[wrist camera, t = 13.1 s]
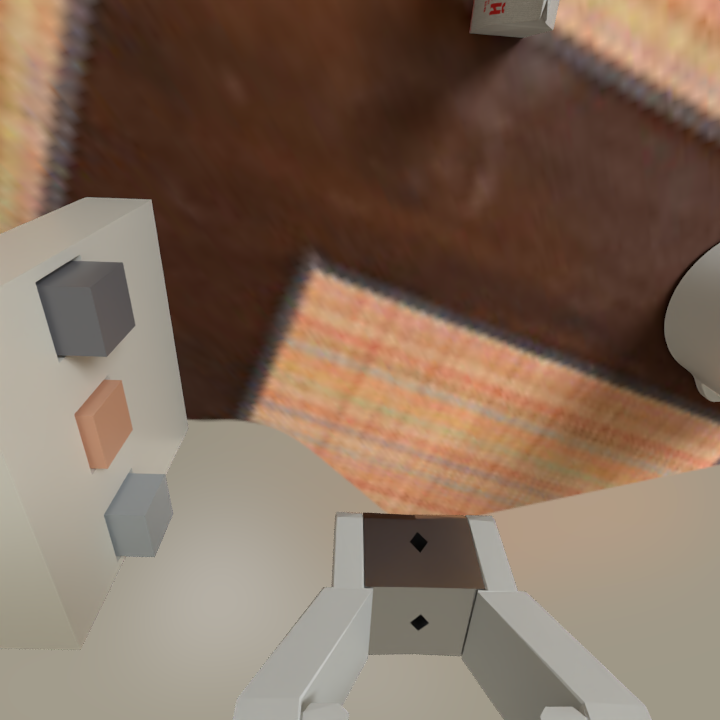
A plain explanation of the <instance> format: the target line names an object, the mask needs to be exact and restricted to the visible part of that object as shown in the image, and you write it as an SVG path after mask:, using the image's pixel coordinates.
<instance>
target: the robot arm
mask: <svg viewBox="0 0 720 720" xmlns="http://www.w3.org/2000/svg"><path fill="white" fill-rule="evenodd" d="M664 333H665V340H666V343H667V346H668V349H669V351H670V353H671V354H672V356H673V357H674V359H675V360H676V361H677V362H678V363H679V364H680V365H681V366H683V367H684V368H685V369H686V370H688V371H689V372H690V373H691V374H692V375H693V377H694V380H695V383H696V386H697V389H698V391H699V393H700V394H701V395H702V396H703V397H705V398H706V399H708V400H709V401H712V402H720V243H719V244H718V245H716V246H715V247H713V248H712V249H711V250H709V251H708V252H707V253H706V254H704V255H703V256H702V257H701V258H700V259H699V260H698V261H697V262H696V263H695V264H694V265H693V266H692V267H691V268H690V269H689V271H688V272H687V273H686V274H685V276H684V277H683V278H682V280H681V281H680V283H679V284H678V286H677V288H676V289H675V291H674V293H673V295H672V297H671V300H670V302H669V305H668V308H667V312H666V316H665V324H664ZM334 530H335V531H334V549H333V570H332V587H324V588H323V589H322V590H321V591H320V592H319V594H318V595H317V596H316V598H315V599H314V600H313V602H312V603H311V604H310V605H309V607H308V608H307V609H306V611H305V612H304V613H303V614H302V616H301V617H300V618H299V620H298V621H297V622H296V623H295V625H294V626H293V627H292V629H291V630H290V631H289V632H288V634H287V635H286V636H285V638H284V639H283V640H282V641H281V643H280V644H279V646H278V647H277V648H276V649H275V651H274V652H273V653H272V654H271V656H270V657H269V658H268V660H267V661H266V662H265V663H264V665H263V666H262V668H260V670H259V671H258V672H257V674H256V675H255V676H254V677H253V679H252V680H251V681H250V683H249V684H248V686H247V687H246V688H245V689H244V691H243V692H242V693H241V694H240V696H239V697H238V698H237V702H236V706H235V711H234V716H233V720H349V713H348V712H347V711H346V710H345V709H344V708H343V707H342V705H343V703H344V701H345V700H346V698H347V696H348V694H349V692H350V691H351V689H352V687H353V685H354V683H355V681H356V679H357V677H358V676H359V674H360V672H361V670H362V668H363V666H364V664H365V662H366V661H367V659H368V655H373V654H374V655H376V654H378V655H380V654H423V655H445V656H446V655H447V656H462V660H463V662H464V663H465V664H466V666H467V667H468V669H469V670H470V672H471V673H472V675H473V676H474V677H475V679H476V680H477V681H478V683H479V685H480V686H481V688H482V689H483V690H484V692H485V693H486V695H487V696H488V698H489V699H490V700H491V702H492V703H493V705H494V706H495V708H496V709H497V711H498V712H499V713H500V715H501V716H502V718H503V719H504V720H652V719H651V717H650V714H649V712H648V710H647V708H646V706H645V705H644V704H643V703H642V702H641V701H640V700H639V699H638V698H637V697H636V696H635V695H634V694H632V693H631V692H630V691H629V690H628V689H627V688H626V687H625V686H624V685H623V684H622V683H621V682H620V681H619V680H618V679H617V678H616V677H615V676H614V675H613V674H612V673H610V671H608V669H607V668H605V667H604V666H603V665H602V664H601V663H600V662H599V661H598V660H597V659H596V658H595V657H594V656H593V655H592V654H591V653H590V652H589V651H588V650H587V649H586V648H585V647H583V645H581V644H580V643H579V642H578V641H577V640H576V639H575V638H574V637H573V636H572V635H571V634H570V633H569V632H568V631H567V630H566V629H565V628H564V627H563V626H562V625H561V624H560V623H559V622H557V621H556V620H555V619H554V618H553V617H552V616H551V615H550V614H549V613H548V612H547V611H546V610H545V609H544V608H543V607H542V606H541V605H540V604H539V603H538V602H537V601H536V600H534V598H532V597H531V596H530V595H529V594H528V593H527V592H525V591H518V590H517V587H516V584H515V581H514V578H513V574H512V571H511V568H510V565H509V562H508V559H507V556H506V553H505V549H504V546H503V543H502V540H501V537H500V534H499V531H498V528H497V525H496V521H495V520H494V518H493V517H492V516H473V515H466V516H464V515H400V514H380V513H363V516H362V513H349V512H336V516H335V529H334Z"/></svg>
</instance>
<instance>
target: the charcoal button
mask: <svg viewBox="0 0 720 720" xmlns="http://www.w3.org/2000/svg"><path fill="white" fill-rule="evenodd" d="M35 283H36V286H37V290H38V293H39V297H40V300H41V303H42V307H43V310H44V314H45V317H46V320H47V324H48V327H49V331H50V334H51V337H52V341H53V344H54V348H55V351H56V354H57V355H61V356H94V357H107V356H108V355H109V354H110V353H111V352H112V351H113V350H114V349H115V348H116V346H117V345H118V344H119V343H120V342H121V341H122V340H123V339H124V338H125V337H126V335H127V334H128V333H129V332H130V331H131V330H132V329H133V328H134V327H135V326H136V325H135V320H134V315H133V310H132V305H131V300H130V295H129V290H128V285H127V280H126V275H125V270H124V266H123V262H95V261H69V262H67V263H65V264H64V265H62V266H61V267H59V268H57V269H56V270H54V271H53V272H51V273H49V274H48V275H46V276H45V277H43V278H41V279H40V280H38V281H37V282H35Z"/></svg>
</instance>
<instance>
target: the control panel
mask: <svg viewBox="0 0 720 720" xmlns="http://www.w3.org/2000/svg"><path fill="white" fill-rule="evenodd" d="M69 261H95V262H123V266H124V270H125V275H126V280H127V285H128V290H129V295H130V300H131V305H132V310H133V315H134V320H135V325H136V326H135V327H134V328H133V329H132V330H131V331H130V332H129V333H128V334H127V335H126V337H125V338H124V339H123V340H122V341H121V342H120V343H119V344H118V345H117V346H116V348H115V349H114V350H113V351H112V352H111V353H110V354H109V355H108V356H107V357H94V356H61V355H57V354H56V351H55V348H54V344H53V341H52V337H51V334H50V331H49V327H48V324H47V320H46V317H45V314H44V310H43V307H42V303H41V300H40V297H39V293H38V290H37V286H36V283H35V282H37V281H38V280H40V279H41V278H43V277H45V276H46V275H48V274H49V273H51V272H53V271H54V270H56V269H57V268H59V267H61V266H62V265H64V264H65V263H67V262H69ZM103 380H122V384H123V389H124V393H125V397H126V402H127V406H128V410H129V415H130V419H131V424H132V428H133V430H132V432H131V433H130V435H129V436H128V438H127V439H126V441H125V443H124V444H123V446H122V447H121V449H120V450H119V452H118V453H117V455H116V457H115V458H114V460H113V461H112V463H111V464H110V466H109V467H108V469H96V468H90V467H89V463H88V460H87V456H86V453H85V450H84V446H83V443H82V439H81V436H80V433H79V429H78V426H77V422H76V419H75V416H74V414H75V413H76V412H77V411H78V409H79V408H80V407H81V406H82V405H83V404H84V402H85V401H86V400H87V399H88V398H89V396H90V395H91V394H92V393H93V392H94V391H95V389H96V388H97V387H98V386H99V385H100V384H101V382H102V381H103ZM187 430H188V424H187V417H186V411H185V405H184V399H183V393H182V386H181V380H180V374H179V368H178V362H177V355H176V349H175V343H174V337H173V331H172V324H171V318H170V312H169V306H168V300H167V293H166V287H165V281H164V275H163V269H162V262H161V256H160V250H159V244H158V238H157V231H156V225H155V219H154V213H153V207H152V200H147V199H121V198H94V197H85V198H83V199H81V200H78V201H76V202H74V203H71V204H69V205H67V206H64V207H62V208H60V209H57V210H55V211H53V212H50V213H48V214H46V215H43V216H41V217H39V218H36V219H34V220H32V221H29V222H27V223H25V224H22V225H20V226H18V227H15V228H13V229H11V230H8V231H6V232H4V233H1V234H0V648H2V649H3V648H4V649H58V650H59V649H61V650H62V649H63V650H81V648H82V646H83V644H84V642H85V639H86V638H87V636H88V633H89V632H90V629H91V627H92V625H93V623H94V621H95V619H96V617H97V615H98V613H99V611H100V609H101V607H102V605H103V603H104V601H105V599H106V596H107V595H108V593H109V590H110V588H111V586H112V584H113V582H114V580H115V578H116V576H117V574H118V572H119V570H120V568H121V566H122V564H123V562H124V559H125V558H126V556H116V555H115V552H114V548H113V545H112V541H111V538H110V535H109V531H108V528H107V524H106V521H105V518H104V514H105V512H106V510H107V509H108V507H109V505H110V504H111V502H112V500H113V498H114V497H115V495H116V493H117V492H118V490H119V488H120V486H121V485H122V483H123V481H124V480H125V478H126V476H127V474H128V473H136V474H165V475H166V473H167V471H168V469H169V467H170V465H171V463H172V461H173V459H174V457H175V455H176V453H177V451H178V449H179V447H180V445H181V443H182V441H183V439H184V436H185V434H186V432H187Z"/></svg>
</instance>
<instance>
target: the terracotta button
mask: <svg viewBox="0 0 720 720" xmlns="http://www.w3.org/2000/svg"><path fill="white" fill-rule="evenodd" d="M74 416H75V419H76V422H77V426H78V429H79V433H80V436H81V439H82V443H83V446H84V450H85V453H86V456H87V460H88V463H89V467H90V468H96V469H108V467H109V466H110V464H111V463H112V461H113V460H114V458H115V457H116V455H117V453H118V452H119V450H120V449H121V447H122V446H123V444H124V443H125V441H126V439H127V438H128V436H129V435H130V433H131V432H132V430H133V428H132V424H131V419H130V415H129V410H128V406H127V402H126V397H125V393H124V389H123V384H122V380H103V381H102V382H101V384H100V385H99V386H98V387H97V388H96V389H95V391H94V392H93V393H92V394H91V395H90V396H89V398H88V399H87V400H86V401H85V402H84V404H83V405H82V406H81V407H80V408H79V409H78V411H77V412H76V413H75V414H74Z"/></svg>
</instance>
